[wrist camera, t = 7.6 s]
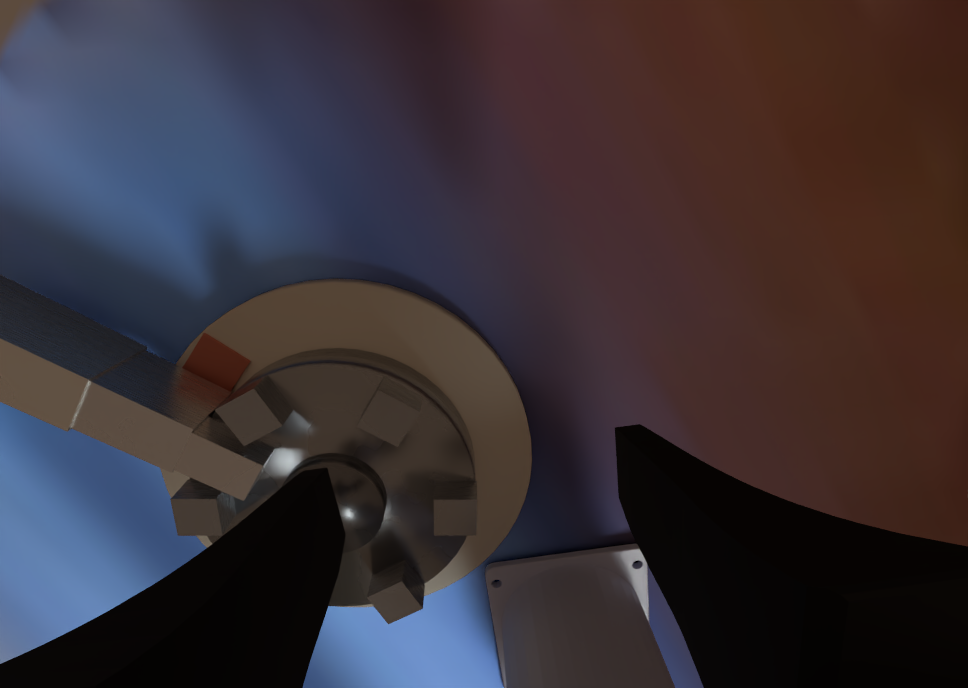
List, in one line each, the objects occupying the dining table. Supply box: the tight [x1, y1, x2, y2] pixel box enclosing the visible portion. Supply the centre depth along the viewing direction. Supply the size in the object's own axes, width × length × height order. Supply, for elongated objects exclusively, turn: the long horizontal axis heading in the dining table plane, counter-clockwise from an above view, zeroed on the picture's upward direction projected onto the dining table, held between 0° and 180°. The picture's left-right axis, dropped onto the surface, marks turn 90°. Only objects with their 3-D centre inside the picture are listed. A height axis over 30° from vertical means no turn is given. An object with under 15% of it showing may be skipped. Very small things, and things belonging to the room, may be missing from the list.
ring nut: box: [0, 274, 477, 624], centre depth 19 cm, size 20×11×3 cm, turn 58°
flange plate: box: [160, 278, 532, 607], centre depth 22 cm, size 16×16×1 cm
